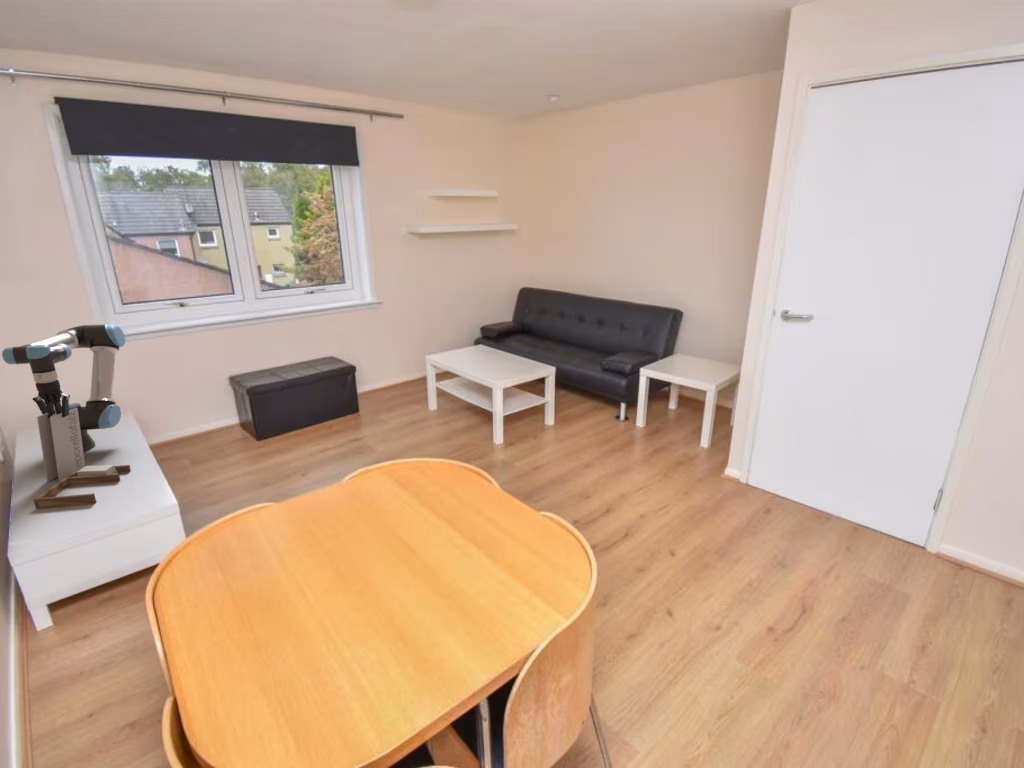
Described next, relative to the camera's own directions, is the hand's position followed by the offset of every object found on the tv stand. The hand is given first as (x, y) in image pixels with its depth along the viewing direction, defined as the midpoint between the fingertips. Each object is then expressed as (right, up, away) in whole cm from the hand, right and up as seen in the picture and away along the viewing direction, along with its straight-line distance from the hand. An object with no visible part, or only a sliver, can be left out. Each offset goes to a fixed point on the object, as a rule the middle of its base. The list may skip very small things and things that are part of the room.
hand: (61, 432), depth 221 cm
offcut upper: (+14, -19, +2) cm, 24 cm away
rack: (+17, -24, -6) cm, 30 cm away
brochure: (-3, -20, +6) cm, 21 cm away
